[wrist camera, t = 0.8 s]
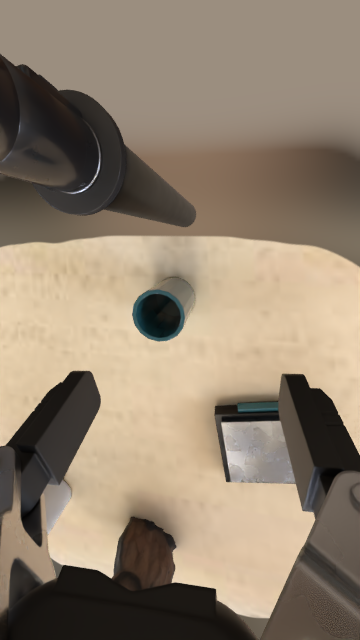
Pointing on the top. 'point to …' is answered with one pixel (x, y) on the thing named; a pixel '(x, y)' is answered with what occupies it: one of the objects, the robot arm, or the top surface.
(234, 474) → the scale
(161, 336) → the cup
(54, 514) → the mug
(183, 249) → the top surface
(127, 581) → the owl
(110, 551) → the top surface
